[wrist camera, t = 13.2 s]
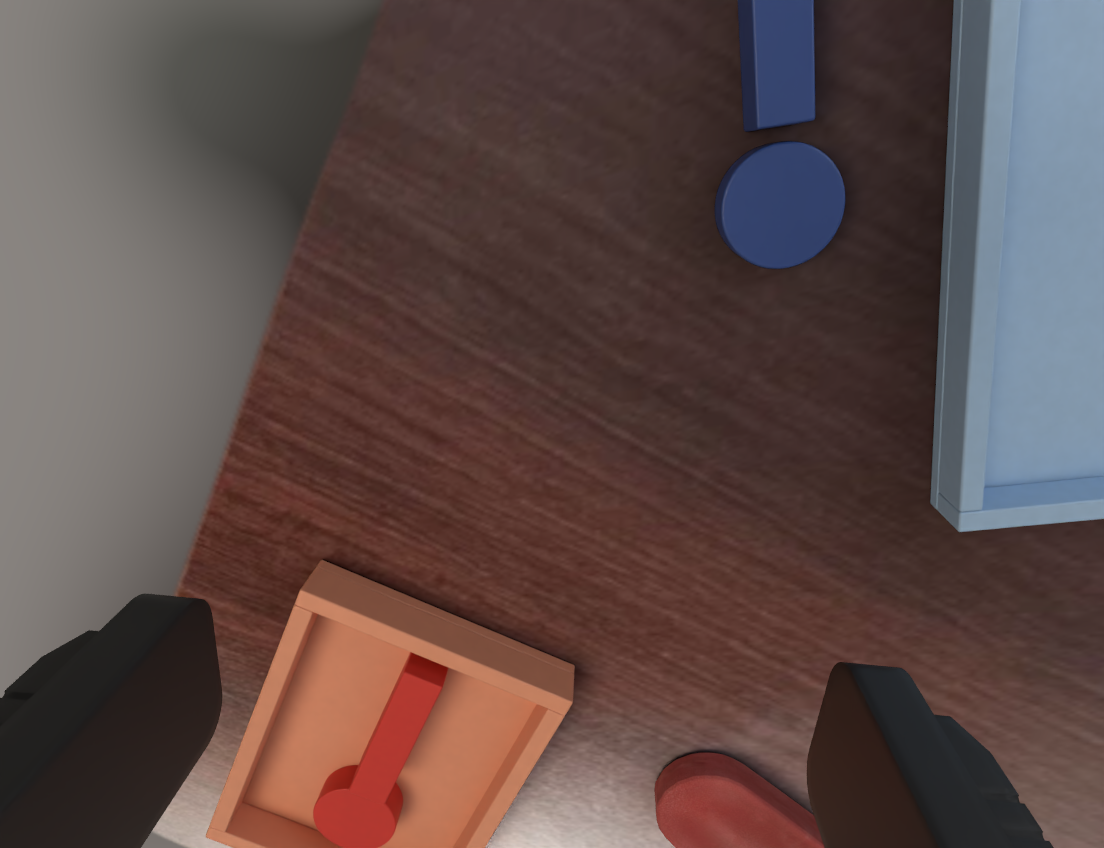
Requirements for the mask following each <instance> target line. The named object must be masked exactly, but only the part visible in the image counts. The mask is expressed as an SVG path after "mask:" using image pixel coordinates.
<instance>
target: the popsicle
mask: <svg viewBox="0 0 1104 848" xmlns="http://www.w3.org/2000/svg"><path fill="white" fill-rule="evenodd" d="M654 791H655V801H656V816H657V823H658V826H659V829H660V830H661V832H662V833H663V834H664V836H665V837H666V838H667V839H668V840H669V841H670V842H671V843H672V844H673V845H674V846H675V847H676V848H825V847H824V844H823V841H822V838H821V835H820V832H819V829H818V826H817V823H816V820H815V817H814V815H813V814H811V813H810V812H809V811H807V810H806V809H804V808H803V807H802V806H800V805H799V804H798V803H796V802H795V801H794V800H792V799H791V798H789V797H788V796H787V795H785V794H784V793H783V792H781V791H780V790H778V789H777V788H776V787H774V786H773V785H772V784H770V783H769V782H767V781H766V780H765V779H763V778H762V777H761V776H759V775H758V774H756V773H755V772H754V771H752V770H751V769H749V768H748V767H747V766H745V765H744V764H742V763H740V762H739V761H737V760H735V759H733V758H731V757H728V756H726V755H723V754H718V753H704V752H702V753H694V754H690V755H687V756H684V757H682V758H679V759H676V760H675V761H673V762H672V763H671V764H669V765H668V766H667V767H666V768H665V769H664V770H663V771H662V773H661V774H660V776H659V778H658V779H657V781H656V783H655V790H654Z"/></svg>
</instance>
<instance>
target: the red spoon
mask: <svg viewBox="0 0 1104 848" xmlns="http://www.w3.org/2000/svg"><path fill="white" fill-rule="evenodd" d="M447 672H448V667H446V666H443V665H441V664H438V663H436V662H434V661H431V660H429V659H426V658H424V657H421V656H419V655H417V654H414V653H412V652H410V654H409V656H408V658H407V660H406V662H405V665H404V667H403V669H402V671H401V673H400V675H399V677H398V680H397V682H396V684H395V686H394V688H393V690H392V693H391V695H390V697H389V699H388V701H387V703H386V706H385V708H384V710H383V712H382V714H381V716H380V718H379V721H378V723H377V725H376V727H375V729H374V731H373V734H372V736H371V738H370V740H369V742H368V744H367V747H366V749H365V751H364V753H363V755H362V758H361V760H360V763H359V765H352V766H346V767H342V768H340V769H338V770H336V771H334V772H333V773H332V774H331V775H329V777H328V778H327V779H326V781H325V783H324V785H323V788H322V790H321V792H320V794H319V797H318V799H317V801H316V803H315V806H314V809H313V818H314V822H315V825H316V827H317V829H318V830H319V831H320V833H321V834H322V835H323V836H324V837H325V838H327V839H328V840H329V841H331V842H332V843H334V844H336V845H338V846H341V847H343V848H378V847H381V846H382V845H384V844H386V843H387V842H388V841H389V840H390V839H391V838H392V836H393V835H394V832H395V830H396V826H397V823H398V820H399V816H400V813H401V810H402V806H403V796H402V792H401V790H400V788H399V786H398V785H397V783H396V781H397V779H398V777H399V775H400V773H401V771H402V769H403V767H404V765H405V763H406V761H407V759H408V757H409V755H410V753H411V751H412V749H413V747H414V745H415V743H416V741H417V739H418V737H419V735H420V732H421V730H422V728H423V726H424V724H425V722H426V720H427V718H428V716H429V714H430V712H431V710H432V708H433V706H434V704H435V702H436V700H437V698H438V696H439V694H440V692H441V690H442V688H443V685H444V682H445V678H446V675H447Z"/></svg>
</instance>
